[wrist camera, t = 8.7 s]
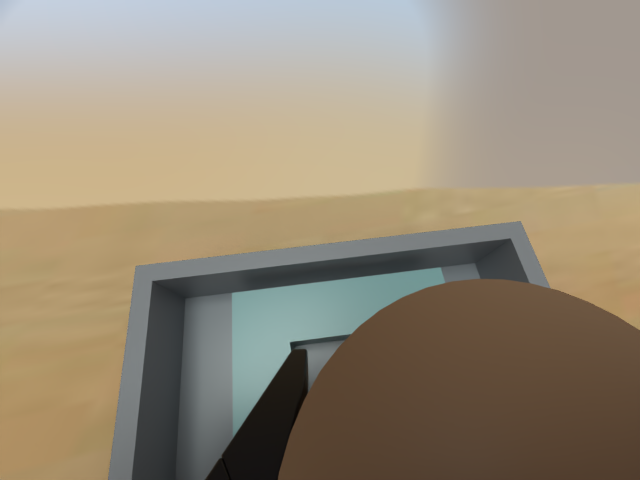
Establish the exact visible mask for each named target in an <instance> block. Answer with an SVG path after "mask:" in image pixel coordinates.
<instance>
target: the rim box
mask: <svg viewBox="0 0 640 480" xmlns="http://www.w3.org/2000/svg"><path fill="white" fill-rule="evenodd" d="M470 279H505V280H511V281H518V282H525V283H531V284H535V285H539V286H543V287H547V288H550V286H549V284H548V282H547V279H546V277H545V275H544V273H543V270H542V268H541V266H540V264H539V261H538V259H537V257H536V255H535V252H534V250H533V248H532V246H531V243H530V241H529V239H528V237H527V234H526V232H525V230H524V228H523V225H522V223H521V221H518V222H510V223H501V224H492V225H484V226H475V227H467V228H458V229H449V230H441V231H432V232H424V233H415V234H406V235H398V236H389V237H380V238H372V239H363V240H355V241H346V242H337V243H329V244H320V245H312V246H303V247H294V248H286V249H277V250H268V251H260V252H251V253H243V254H234V255H225V256H217V257H208V258H199V259H191V260H182V261H174V262H165V263H156V264H148V265H139V266H136V268H135V276H134V283H133V291H132V299H131V307H130V314H129V322H128V330H127V337H126V345H125V353H124V361H123V368H122V376H121V384H120V391H119V399H118V407H117V415H116V422H115V430H114V438H113V445H112V453H111V461H110V469H109V476H108V480H205V478H206V477H207V476H208V474H209V473H210V471H211V470H212V468H213V467H214V465H215V464H216V462H217V461H218V459H219V458H222V457H221V455H222V453H223V452H224V450H225V449H226V447H227V446H228V445H229V443H230V442H231V440H232V439H233V437H234V436H235V434H236V433H237V431H238V430H239V428H240V427H241V425H242V424H243V422H244V421H245V419H246V418H247V416H248V415H249V413H250V412H251V410H252V409H253V407H254V406H255V404H256V403H257V401H258V400H259V398H260V397H261V395H262V394H263V392H264V391H265V389H266V388H267V386H268V385H269V383H270V382H271V380H272V379H273V377H274V376H275V374H276V373H277V371H278V370H279V369H280V367H281V366H282V364H283V363H284V361H285V360H286V358H287V357H288V355H289V354H290V352H291V351H292V350H293V349H304V348H305V349H307V351H308V392H309V390H310V389H311V387H312V385H313V383H314V381H315V379H316V378H317V376H318V374H319V372H320V371H321V369H322V368H323V367H324V365H325V364H326V363H327V361H328V360H329V359H330V358H331V356H332V355H333V354H334V352H335V351H336V350H337V349H338V347H339V346H340V345H341V344H342V343H343V342H344V341H345V340H346V339H347V338H348V337H349V336H350V335H351V334H352V333H353V332H354V331H355V330H356V329H357V328H358V327H359V326H360V325H361V324H363V323H364V322H365V321H366V320H368V319H369V318H370V317H372V316H373V315H374V314H375V313H377V312H378V311H379V310H381V309H383V308H384V307H386V306H388V305H390V304H391V303H393V302H395V301H397V300H398V299H400V298H402V297H404V296H406V295H409V294H411V293H414V292H417V291H419V290H422V289H424V288H427V287H431V286H435V285H439V284H443V283H447V282H451V281H460V280H470ZM550 289H551V288H550Z"/></svg>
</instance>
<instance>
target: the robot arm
mask: <svg viewBox="0 0 640 480" xmlns="http://www.w3.org/2000/svg"><path fill="white" fill-rule="evenodd" d="M307 394H308V351H307V349H305V348H304V349H293V350H292V351H291V352H290V354H289V355H288V357H287V358H286V360H285V361H284V363H283V364H282V366H281V367H280V369H279V370H278V371H277V373H276V374H275V376H274V377H273V379H272V380H271V382H270V383H269V385H268V386H267V388H266V389H265V391H264V392H263V394H262V395H261V397H260V398H259V400H258V401H257V403H256V404H255V406H254V407H253V409H252V410H251V412H250V413H249V415H248V416H247V418H246V419H245V421H244V422H243V424H242V425H241V427H240V428H239V430H238V431H237V433H236V434H235V436H234V437H233V439H232V440H231V442H230V443H229V445H228V446H227V447H226V449H225V450H224V452H223V453H222V455H221V457H222V458H219V459H218V461H217V462H216V464H215V465H214V467H213V468H212V470H211V471H210V473H209V474H208V476H207V477H206V478H205V480H278V476H279V471H280V467H281V464H282V460H283V457H284V453H285V450H286V447H287V443H288V440H289V436H290V433H291V431H292V428H293V426H294V423H295V421H296V419H297V416H298V414H299V411H300V409H301V407H302V404H303V402H304V400H305V398H306V396H307Z"/></svg>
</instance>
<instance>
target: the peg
mask: <svg viewBox="0 0 640 480" xmlns="http://www.w3.org/2000/svg"><path fill="white" fill-rule="evenodd" d="M278 480H640V330H638V329H637V328H635V327H633V326H632V325H630V324H629V323H627V322H625V321H624V320H622V319H621V318H619V317H617V316H615V315H613V314H611V313H609V312H607V311H605V310H603V309H601V308H599V307H597V306H595V305H593V304H591V303H589V302H587V301H584V300H582V299H579V298H577V297H574V296H571V295H569V294H566V293H564V292H561V291H558V290H554V289H550V288H547V287H543V286H539V285H535V284H531V283H525V282H518V281H511V280H505V279H470V280H460V281H451V282H447V283H443V284H439V285H435V286H431V287H427V288H424V289H422V290H419V291H417V292H414V293H411V294H409V295H406V296H404V297H402V298H400V299H398V300H397V301H395V302H393V303H391V304H390V305H388V306H386V307H384V308H383V309H381V310H379V311H378V312H377V313H375V314H374V315H373V316H372V317H370V318H369V319H368V320H366V321H365V322H364V323H363V324H361V325H360V326H359V327H358V328H357V329H356V330H355V331H354V332H353V333H352V334H351V335H350V336H349V337H348V338H347V339H346V340H345V341H344V342H343V343H342V344H341V345H340V346H339V347H338V349H337V350H336V351H335V352H334V354H333V355H332V356H331V358H330V359H329V360H328V361H327V363H326V364H325V365H324V367H323V368H322V369H321V371H320V372H319V374H318V376H317V378H316V379H315V381H314V383H313V385H312V387H311V389H310V390H309V392H308V394H307V396H306V398H305V400H304V402H303V404H302V407H301V409H300V411H299V414H298V416H297V419H296V421H295V423H294V426H293V428H292V431H291V433H290V436H289V440H288V443H287V447H286V450H285V453H284V457H283V460H282V464H281V467H280V471H279V476H278Z"/></svg>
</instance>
